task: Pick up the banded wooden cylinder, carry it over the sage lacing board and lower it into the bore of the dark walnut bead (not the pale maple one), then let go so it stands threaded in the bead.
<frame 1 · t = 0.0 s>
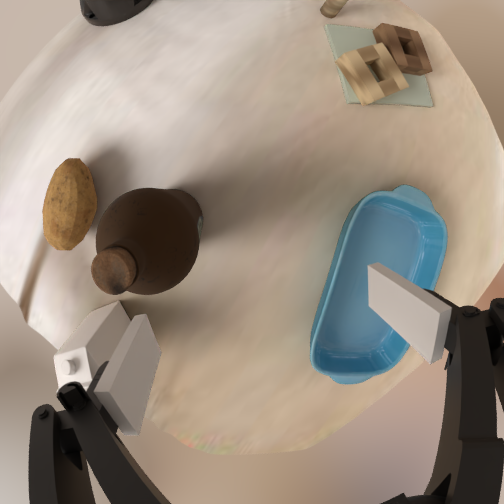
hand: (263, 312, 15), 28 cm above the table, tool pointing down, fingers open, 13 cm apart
potato: (81, 201, 38), on the table
lacing board: (382, 66, 37), on the table
maple bead: (367, 76, 36), resting on lacing board
banded wooden cylinder: (328, 12, 33), on the table
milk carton: (114, 321, 44), on the table
olive oil: (173, 220, 41), on the table
casserole dish: (368, 282, 47), on the table
walnut bead: (397, 53, 35), resting on lacing board
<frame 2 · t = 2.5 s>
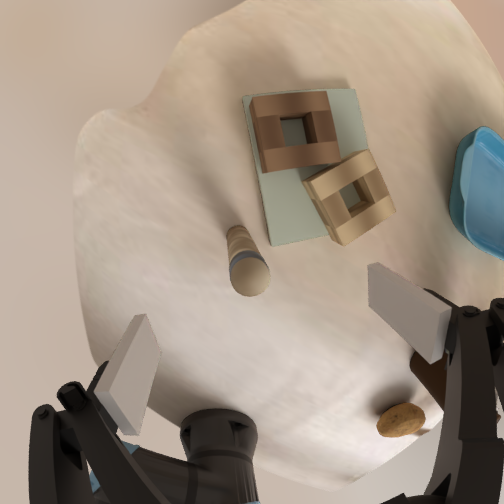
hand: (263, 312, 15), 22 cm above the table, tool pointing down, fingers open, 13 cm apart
potato: (392, 409, 51), on the table
lacing board: (314, 161, 35), on the table
maple bead: (344, 195, 35), resting on lacing board
banded wooden cylinder: (238, 236, 36), on the table
olive oil: (425, 354, 47), on the table
casserole dish: (486, 199, 40), on the table
walnut bead: (290, 134, 32), resting on lacing board
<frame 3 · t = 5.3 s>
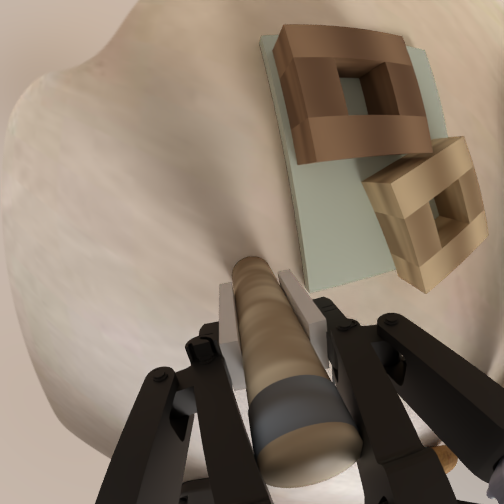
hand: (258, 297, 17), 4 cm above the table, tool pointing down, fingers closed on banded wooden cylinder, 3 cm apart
potato: (422, 452, 35), on the table
lacing board: (378, 150, 19), on the table
maple bead: (419, 206, 20), resting on lacing board
banded wooden cylinder: (251, 275, 21), on the table, touching gripper
walnut bead: (342, 100, 17), resting on lacing board
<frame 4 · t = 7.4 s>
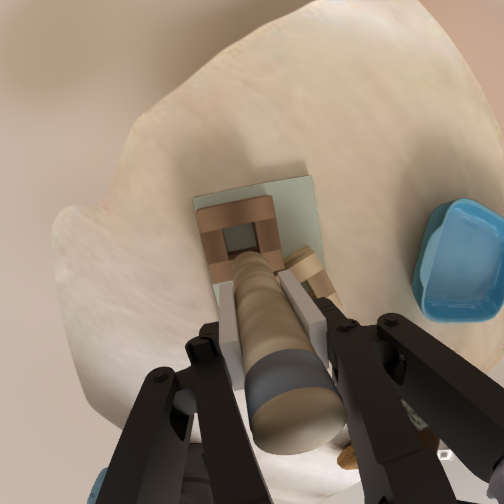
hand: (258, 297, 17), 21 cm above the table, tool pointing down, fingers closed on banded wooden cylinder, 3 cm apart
potato: (354, 444, 54), on the table
lacing board: (265, 256, 38), on the table
maple bead: (293, 287, 39), resting on lacing board
banded wooden cylinder: (249, 269, 22), point 15 cm above the table, touching gripper
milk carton: (421, 415, 56), on the table
olive oil: (385, 401, 51), on the table
casserole dish: (460, 259, 44), on the table
walnut bead: (239, 234, 36), resting on lacing board
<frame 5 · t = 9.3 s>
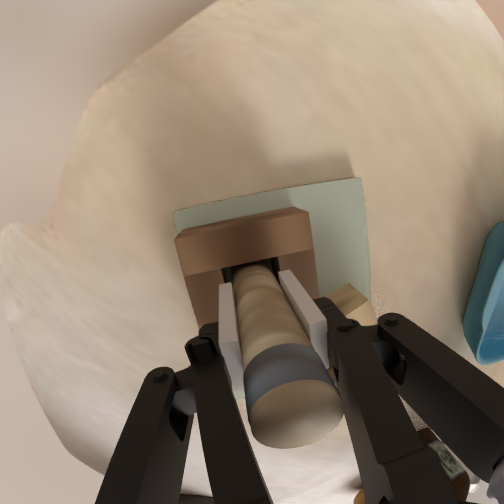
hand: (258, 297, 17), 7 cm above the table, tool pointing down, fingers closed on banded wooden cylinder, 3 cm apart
potato: (372, 482, 41), on the table
lacing board: (287, 299, 25), on the table
maple bead: (326, 341, 25), resting on lacing board
banded wooden cylinder: (249, 269, 23), point 1 cm above the table, touching gripper, lacing board
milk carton: (444, 446, 42), on the table
olive oil: (412, 442, 37), on the table
walnut bead: (249, 270, 23), resting on lacing board
when the fingers open (7 cm above the table, at t = 9.9 s): banded wooden cylinder stays where it is, resting on lacing board.
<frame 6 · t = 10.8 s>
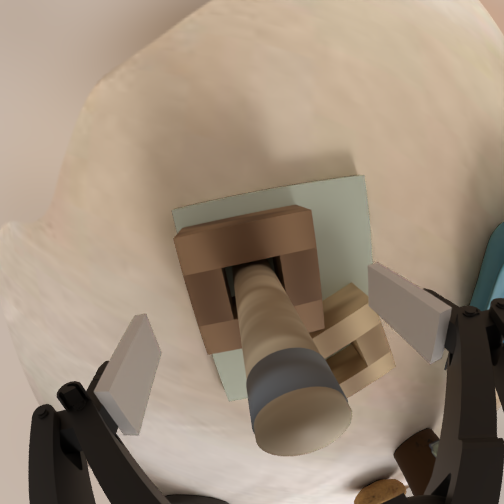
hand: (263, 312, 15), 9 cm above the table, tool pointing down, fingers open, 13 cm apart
potato: (373, 482, 41), on the table
lacing board: (289, 299, 25), on the table
maple bead: (328, 341, 25), resting on lacing board
banded wooden cylinder: (250, 268, 22), point 1 cm above the table, touching lacing board
olive oil: (413, 442, 37), on the table
walnut bead: (250, 270, 22), resting on lacing board
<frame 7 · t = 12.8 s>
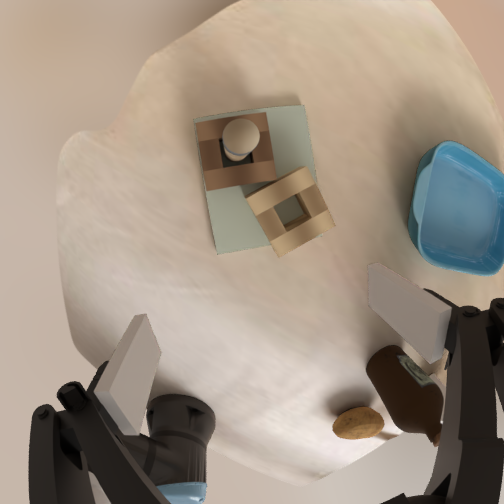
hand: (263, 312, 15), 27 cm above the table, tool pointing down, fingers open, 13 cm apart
potato: (351, 412, 56), on the table
lacing board: (259, 177, 39), on the table
maple bead: (286, 208, 39), resting on lacing board
banded wooden cylinder: (235, 151, 36), point 1 cm above the table, touching lacing board
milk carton: (421, 386, 57), on the table
olive oil: (384, 361, 52), on the table
casserole dish: (456, 210, 44), on the table
walnut bead: (235, 152, 36), resting on lacing board
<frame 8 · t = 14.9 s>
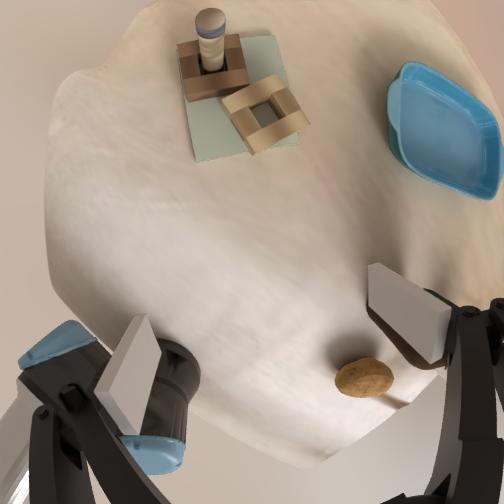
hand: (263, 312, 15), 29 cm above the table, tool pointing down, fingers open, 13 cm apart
potato: (355, 366, 53), on the table
lacing board: (236, 92, 37), on the table
maple bead: (262, 117, 37), resting on lacing board
banded wooden cylinder: (213, 71, 35), point 1 cm above the table, touching lacing board
olive oil: (385, 299, 50), on the table
casserole dish: (439, 137, 42), on the table
walnut bead: (213, 72, 35), resting on lacing board
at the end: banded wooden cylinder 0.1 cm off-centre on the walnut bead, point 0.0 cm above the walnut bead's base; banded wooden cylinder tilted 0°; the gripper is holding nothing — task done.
